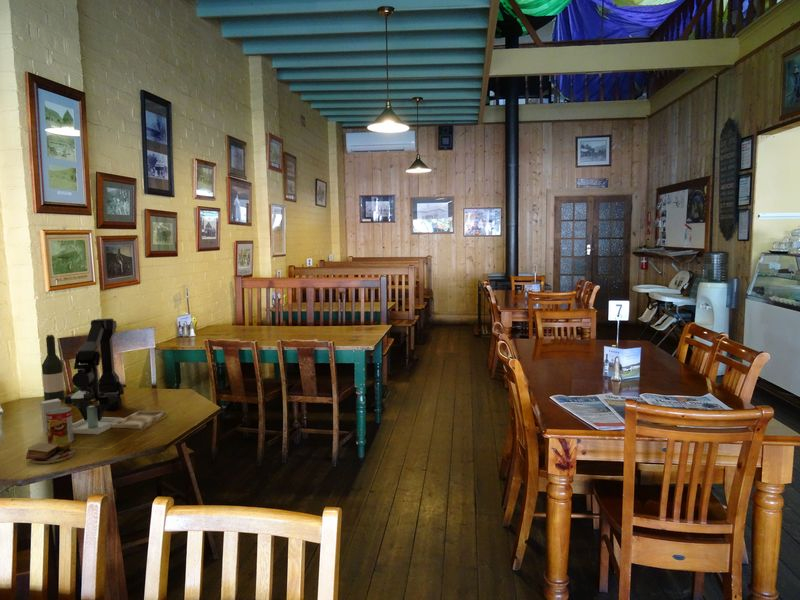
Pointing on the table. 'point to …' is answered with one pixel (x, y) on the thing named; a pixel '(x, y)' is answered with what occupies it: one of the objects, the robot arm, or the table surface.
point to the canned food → (59, 425)
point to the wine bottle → (52, 373)
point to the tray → (139, 419)
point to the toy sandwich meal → (49, 453)
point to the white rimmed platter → (103, 425)
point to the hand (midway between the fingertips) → (92, 420)
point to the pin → (92, 417)
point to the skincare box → (47, 406)
